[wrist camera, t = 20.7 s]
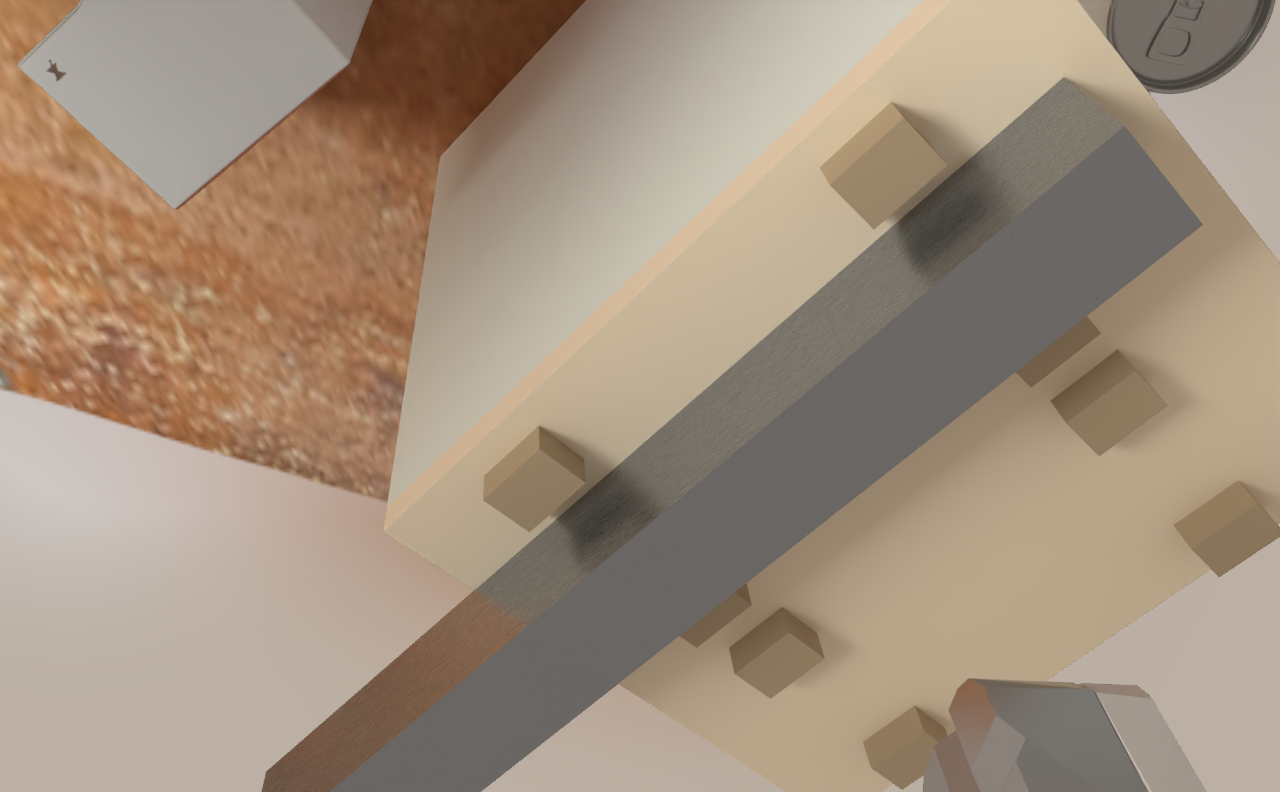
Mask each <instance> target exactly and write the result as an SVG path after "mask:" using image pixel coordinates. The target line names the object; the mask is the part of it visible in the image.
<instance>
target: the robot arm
mask: <svg viewBox="0 0 1280 792" xmlns="http://www.w3.org/2000/svg"><path fill="white" fill-rule="evenodd" d="M949 713H950V715H951V718H952V721H953V724H954V726H955V729H956V731H954V732H953V733H951V734H950V735H949V736H947V737H946V738H944V739H943V740H942V741H940V742H939V743H937V744H936V745H935V746H934V747H933V750H932V752H931V755H930V758H929V761H928V764H927V767H926V769H925V772H924V782H923V783H924V784H923V792H1206V790H1205V788H1204V786H1203V785H1202V783H1201V781H1200V780H1199V778H1198V776H1197V774H1196V773H1195V771H1194V769H1193V768H1192V766H1191V764H1190V763H1189V761H1188V759H1187V758H1186V756H1185V754H1184V752H1183V751H1182V749H1181V747H1180V745H1179V744H1178V742H1177V740H1176V739H1175V737H1174V735H1173V733H1172V732H1171V730H1170V728H1169V727H1168V725H1167V723H1166V722H1165V720H1164V718H1163V716H1162V715H1161V713H1160V712H1159V710H1158V708H1157V706H1156V704H1155V703H1154V701H1153V699H1152V698H1151V697H1150V695H1149V694H1147V693H1146V692H1145V691H1144V690H1142V689H1141V688H1140V687H1138V686H1135V685H1112V684H1090V683H1081V684H1075V683H1063V682H1043V681H1020V680H997V679H975V678H968V679H967V680H966V681H965V682H964V683H963V684H962V685H961V686H960V687H959V688H958V689H957V691H956V693H955V696H954V698H953V700H952V703H951V705H950V707H949Z"/></svg>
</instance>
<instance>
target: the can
mask: <svg viewBox="0 0 1280 792" xmlns="http://www.w3.org/2000/svg"><path fill="white" fill-rule="evenodd" d="M1077 1H1078V2H1079V4H1080V5H1081V6H1082V7H1083V9H1084V10H1085V11H1086V13H1087V14H1088V15H1089V17H1090V18H1091V19H1092V20H1093V22H1094V23H1095V24H1096V26H1097V27H1098V28H1099V29H1100V31H1101V32H1102V33H1103V35H1104V36H1105V37H1106V39H1107V40H1108V41H1109V42H1110V44H1111V45H1112V46H1113V48H1114V49H1115V50H1116V51H1117V53H1118V54H1119V55H1120V57H1121V58H1122V59H1123V61H1124V62H1125V63H1126V64H1127V66H1128V67H1129V68H1130V70H1131V71H1132V72H1133V74H1134V75H1135V76H1136V77H1137V79H1138V80H1139V81H1140V83H1141V84H1142V85H1143V86H1144V88H1145V89H1146V90H1147V91H1151V92H1156V93H1164V94H1174V93H1183V92H1188V91H1192V90H1195V89H1198V88H1201V87H1203V86H1206V85H1208V84H1210V83H1212V82H1214V81H1216V80H1218V79H1219V78H1221V77H1222V76H1224V75H1226V74H1227V73H1228V72H1230V71H1231V70H1232V69H1233V68H1235V67H1236V66H1237V65H1238V64H1239V63H1240V62H1241V61H1242V60H1243V59H1244V58H1245V57H1246V56H1247V55H1248V54H1249V52H1250V51H1251V50H1252V49H1253V48H1254V46H1255V45H1256V43H1257V42H1258V41H1259V39H1260V37H1261V36H1262V34H1263V32H1264V31H1265V28H1266V27H1267V24H1268V22H1269V20H1270V17H1271V14H1272V11H1273V8H1274V4H1275V0H1077Z"/></svg>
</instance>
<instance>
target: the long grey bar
mask: <svg viewBox="0 0 1280 792" xmlns="http://www.w3.org/2000/svg"><path fill="white" fill-rule="evenodd" d="M1202 225H1203V224H1202V223H1201V221H1200V220H1199V219H1198V218H1197V216H1196V215H1195V214H1194V213H1193V211H1192V210H1191V209H1190V208H1189V206H1188V205H1187V204H1186V203H1185V201H1184V200H1183V199H1182V198H1181V196H1180V195H1179V194H1178V192H1177V191H1176V190H1175V189H1174V187H1173V186H1172V185H1171V184H1170V182H1169V181H1168V180H1167V179H1166V177H1165V176H1164V175H1163V174H1162V172H1161V171H1160V170H1159V169H1158V167H1157V166H1156V165H1155V164H1154V162H1153V161H1152V160H1151V159H1150V157H1149V156H1148V155H1147V153H1146V152H1145V151H1144V150H1143V148H1142V147H1141V146H1140V145H1139V143H1138V142H1137V141H1136V140H1135V138H1134V137H1133V136H1132V135H1131V133H1130V132H1129V131H1128V130H1127V128H1126V127H1125V126H1124V125H1123V124H1122V123H1120V122H1119V121H1118V120H1117V119H1115V118H1114V117H1113V116H1112V115H1110V114H1109V113H1108V112H1107V111H1105V110H1104V109H1103V108H1102V107H1100V106H1099V105H1098V104H1097V103H1095V102H1094V101H1093V100H1092V99H1090V98H1089V97H1088V96H1087V95H1085V94H1084V93H1083V92H1082V91H1080V90H1079V89H1078V88H1077V87H1075V86H1074V85H1073V84H1072V83H1070V82H1069V81H1068V80H1067V79H1065V78H1064V77H1063V78H1062V79H1061V80H1060V81H1059V82H1057V83H1056V84H1055V85H1054V86H1053V87H1052V88H1051V89H1049V90H1048V91H1047V92H1046V93H1045V94H1044V95H1043V96H1041V97H1040V98H1039V99H1038V100H1037V101H1036V102H1035V103H1033V104H1032V105H1031V106H1030V107H1029V108H1028V109H1026V110H1025V111H1024V112H1023V113H1022V114H1021V115H1020V116H1018V117H1017V118H1016V119H1015V120H1014V121H1013V122H1012V123H1010V124H1009V125H1008V126H1007V127H1006V128H1005V129H1004V130H1002V131H1001V132H1000V133H999V134H998V135H997V136H995V137H994V138H993V139H992V140H991V141H990V142H989V143H987V144H986V145H985V146H984V147H983V148H982V149H981V150H979V151H978V152H977V153H976V154H975V155H974V156H973V157H971V158H970V159H969V160H968V161H967V162H966V163H964V164H963V165H962V166H961V167H960V168H959V169H958V170H956V171H955V172H954V173H953V174H952V175H951V176H950V177H948V178H947V179H946V180H945V181H944V182H943V183H942V184H940V185H939V186H938V187H937V188H936V189H935V190H933V191H932V192H931V193H930V194H929V195H928V196H927V197H925V198H924V199H923V200H922V201H921V202H920V203H919V204H917V205H916V206H915V207H914V208H913V209H912V210H911V211H909V212H908V213H907V214H906V215H905V216H904V217H902V218H901V219H900V220H899V221H898V222H897V223H896V224H894V225H893V226H892V227H891V228H890V229H889V230H888V231H886V232H885V233H884V234H883V235H882V236H881V237H880V238H878V239H877V240H876V241H875V242H874V243H873V244H872V245H870V246H869V247H868V248H867V249H866V250H865V251H863V252H862V253H861V254H860V255H859V256H858V257H857V258H855V259H854V260H853V261H852V262H851V263H850V264H849V265H847V266H846V267H845V268H844V269H843V270H842V271H841V272H839V273H838V274H837V275H836V276H835V277H834V278H832V279H831V280H830V281H829V282H828V283H827V284H826V285H824V286H823V287H822V288H821V289H820V290H819V291H818V292H816V293H815V294H814V295H813V296H812V297H811V298H810V299H808V300H807V301H806V302H805V303H804V304H803V305H801V306H800V307H799V308H798V309H797V310H796V311H795V312H793V313H792V314H791V315H790V316H789V317H788V318H787V319H785V320H784V321H783V322H782V323H781V324H780V325H779V326H777V327H776V328H775V329H774V330H773V331H772V332H770V333H769V334H768V335H767V336H766V337H765V338H764V339H762V340H761V341H760V342H759V343H758V344H757V345H756V346H754V347H753V348H752V349H751V350H750V351H749V352H748V353H746V354H745V355H744V356H743V357H742V358H741V359H739V360H738V361H737V362H736V363H735V364H734V365H733V366H731V367H730V368H729V369H728V370H727V371H726V372H725V373H723V374H722V375H721V376H720V377H719V378H718V379H717V380H715V381H714V382H713V383H712V384H711V385H710V386H708V387H707V388H706V389H705V390H704V391H703V392H702V393H700V394H699V395H698V396H697V397H696V398H695V399H694V400H692V401H691V402H690V403H689V404H688V405H687V406H686V407H684V408H683V409H682V410H681V411H680V412H679V413H677V414H676V415H675V416H674V417H673V418H672V419H671V420H669V421H668V422H667V423H666V424H665V425H664V426H663V427H661V428H660V429H659V430H658V431H657V432H656V433H655V434H653V435H652V436H651V437H650V438H649V439H648V440H646V441H645V442H644V443H643V444H642V445H641V446H640V447H638V448H637V449H636V450H635V451H634V452H633V453H632V454H630V455H629V456H628V457H627V458H626V459H625V460H624V461H622V462H621V463H620V464H619V465H618V466H617V467H615V468H614V469H613V470H612V471H611V472H610V473H609V474H607V475H606V476H605V477H604V478H603V479H602V480H601V481H599V482H598V483H597V484H596V485H595V486H594V487H593V488H591V489H590V490H589V491H588V492H587V493H586V494H584V495H583V496H582V497H581V498H580V499H579V500H578V501H576V502H575V503H574V504H573V505H572V506H571V507H570V508H568V509H567V510H566V511H565V512H564V513H563V514H562V515H560V516H559V517H558V518H557V519H556V520H555V521H553V522H552V523H551V524H550V525H549V526H548V527H547V528H545V529H544V530H543V531H542V532H541V533H540V534H539V535H537V536H536V537H535V538H534V539H533V540H532V541H531V542H529V543H528V544H527V545H526V546H525V547H524V548H522V549H521V550H520V551H519V552H518V553H517V554H516V555H514V556H513V557H512V558H511V559H510V560H509V561H508V562H506V563H505V564H504V565H503V566H502V567H501V568H500V569H498V570H497V571H496V572H495V573H494V574H493V575H491V576H490V577H489V578H488V579H487V580H486V581H485V582H483V583H482V584H481V585H480V586H479V587H478V588H477V589H475V590H474V591H473V592H472V593H471V594H470V595H469V596H467V597H466V598H465V599H464V600H463V601H462V602H460V603H459V604H458V605H457V606H456V607H455V608H454V609H452V610H451V611H450V612H449V613H448V614H447V615H446V616H444V618H442V619H441V620H440V621H439V622H438V623H436V624H435V625H434V626H433V627H432V628H431V629H430V630H428V631H427V632H426V633H425V634H424V635H423V636H421V637H420V638H419V639H418V640H417V641H416V642H415V643H413V644H412V645H411V646H410V647H409V648H408V649H407V650H405V651H404V652H403V653H402V654H401V655H400V656H399V657H397V658H396V659H395V660H394V661H393V662H392V663H390V664H389V665H388V666H387V667H386V668H385V669H384V670H382V671H381V672H380V673H379V674H378V675H377V676H376V677H374V678H373V679H372V680H371V681H370V682H369V683H368V684H366V685H365V686H364V687H363V688H362V689H361V690H359V691H358V692H357V693H356V694H355V695H354V696H353V697H351V698H350V699H349V700H348V701H347V702H346V703H345V704H344V705H342V706H341V707H340V708H339V709H338V710H337V711H335V712H334V713H333V714H332V715H331V716H330V717H328V718H327V719H326V720H325V721H324V722H323V723H322V724H320V725H319V726H318V727H317V728H316V729H315V730H314V731H312V732H311V733H310V734H309V735H308V736H307V737H306V738H304V739H303V740H302V741H301V742H300V743H299V744H297V745H296V746H295V747H294V748H293V749H292V750H291V751H290V752H288V753H287V754H286V755H285V756H284V757H283V758H282V759H280V760H279V761H278V762H277V763H276V764H275V765H273V766H272V767H271V768H270V769H269V770H268V771H266V775H265V779H264V784H263V788H262V792H481V791H482V790H483V789H485V788H486V787H487V786H489V785H490V784H491V783H492V782H493V781H495V780H496V779H497V778H499V777H500V776H501V775H503V774H504V773H505V772H506V771H508V770H509V769H510V768H512V767H513V766H514V765H515V764H516V763H518V762H519V761H520V760H522V759H523V758H524V757H525V756H527V755H528V754H529V753H531V752H532V751H533V750H534V749H536V748H537V747H538V746H540V745H541V744H542V743H543V742H544V741H546V740H547V739H548V738H550V737H551V736H552V735H554V733H556V732H557V731H559V730H560V729H561V728H563V727H564V726H565V725H566V724H568V723H569V722H570V721H571V720H573V719H574V718H575V717H577V716H578V715H579V714H580V713H582V712H583V711H584V710H585V709H587V708H588V707H589V706H590V705H592V704H593V703H594V702H596V701H597V700H598V699H599V698H601V697H602V696H603V695H604V694H606V693H607V692H608V691H610V690H611V689H612V688H613V687H615V686H616V685H617V684H619V683H620V682H621V681H622V680H624V679H625V678H626V677H627V676H629V675H630V674H631V673H633V672H634V671H635V670H636V669H638V668H639V667H640V666H642V665H643V664H644V663H645V662H647V661H648V660H649V659H650V658H652V657H653V656H654V655H656V654H657V653H658V652H659V651H661V650H662V649H663V648H664V647H666V646H667V645H668V644H670V643H671V642H672V641H673V640H675V639H676V638H677V637H678V636H680V635H681V634H682V633H684V632H685V631H686V630H687V629H689V628H690V627H691V626H692V625H694V624H695V623H696V622H698V621H699V620H700V619H701V618H703V617H704V616H705V615H706V614H708V613H709V612H710V611H712V610H713V609H714V608H715V607H717V606H718V605H719V604H721V603H722V602H723V601H724V600H726V599H727V598H728V597H729V596H731V595H732V594H733V593H735V592H736V591H737V590H738V589H740V588H741V587H742V586H743V585H745V584H746V583H747V582H749V581H750V580H751V579H752V578H754V577H755V576H756V575H757V574H759V573H760V572H761V571H763V570H764V569H765V568H766V567H768V566H769V565H770V564H771V563H773V562H774V561H775V560H777V559H778V558H779V557H780V556H782V555H783V554H784V553H786V552H787V551H788V550H789V549H791V548H792V547H793V546H794V545H796V544H797V543H798V542H800V541H801V540H802V539H803V538H805V537H806V536H807V535H808V534H810V533H811V532H812V531H814V530H815V529H816V528H817V527H819V526H820V525H821V524H822V523H824V522H825V521H826V520H828V519H829V518H830V517H831V516H833V515H834V514H835V513H836V512H838V511H839V510H840V509H842V508H843V507H844V506H845V505H847V504H848V503H849V502H850V501H852V500H853V499H854V498H856V497H857V496H858V495H859V494H861V493H862V492H863V491H865V490H866V489H867V488H868V487H870V486H871V485H872V484H873V483H875V482H876V481H877V480H879V479H880V478H881V477H882V476H884V475H885V474H886V473H887V472H889V471H890V470H891V469H893V468H894V467H895V466H896V465H898V464H899V463H900V462H901V461H903V460H904V459H905V458H907V457H908V456H909V455H910V454H912V453H913V452H914V451H915V450H917V449H918V448H919V447H921V446H922V445H923V444H924V443H926V442H927V441H928V440H929V439H931V438H932V437H933V436H935V435H936V434H937V433H938V432H940V431H941V430H942V429H944V428H945V427H946V426H947V425H949V424H950V423H951V422H952V421H954V420H955V419H956V418H958V417H959V416H960V415H961V414H963V413H964V412H965V411H966V410H968V409H969V408H970V407H972V406H973V405H974V404H975V403H977V402H978V401H979V400H980V399H982V398H983V397H984V396H986V395H987V394H988V393H989V392H991V391H992V390H993V389H994V388H996V387H997V386H998V385H1000V384H1001V383H1002V382H1003V381H1005V380H1006V379H1007V378H1009V377H1010V376H1011V375H1012V374H1014V373H1015V372H1016V371H1017V370H1019V369H1020V368H1021V367H1023V366H1024V365H1025V364H1026V363H1028V362H1029V361H1030V360H1031V359H1033V358H1034V357H1035V356H1037V355H1038V354H1039V353H1040V352H1042V351H1043V350H1044V349H1045V348H1047V347H1048V346H1049V345H1051V344H1052V343H1053V342H1054V341H1056V340H1057V339H1058V338H1059V337H1061V336H1062V335H1063V334H1065V333H1066V332H1067V331H1068V330H1070V329H1071V328H1072V327H1073V326H1075V325H1076V324H1077V323H1079V322H1080V321H1081V320H1082V319H1084V318H1085V317H1086V316H1088V315H1089V314H1090V313H1091V312H1093V311H1094V310H1095V309H1096V308H1098V307H1099V306H1100V305H1102V304H1103V303H1104V302H1105V301H1107V300H1108V299H1109V298H1110V297H1112V296H1113V295H1114V294H1116V293H1117V292H1118V291H1119V290H1121V289H1122V288H1123V287H1124V286H1126V285H1127V284H1128V283H1130V282H1131V281H1132V280H1133V279H1135V278H1136V277H1137V276H1138V275H1140V274H1141V273H1142V272H1144V271H1145V270H1146V269H1147V268H1149V267H1150V266H1151V265H1152V264H1154V263H1155V262H1156V261H1158V260H1159V259H1160V258H1161V257H1163V256H1164V255H1165V254H1167V253H1168V252H1169V251H1170V250H1172V249H1173V248H1174V247H1175V246H1177V245H1178V244H1179V243H1181V242H1182V241H1183V240H1184V239H1186V238H1187V237H1188V236H1189V235H1191V234H1192V233H1193V232H1195V231H1196V230H1197V229H1198V228H1200V227H1201V226H1202Z"/></svg>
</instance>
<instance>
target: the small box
mask: <svg viewBox="0 0 1280 792" xmlns="http://www.w3.org/2000/svg"><path fill="white" fill-rule="evenodd" d="M372 1H373V0H81V1H80V2H79V4H78V5H77V6H76V7H75V8H74V9H73V10H72V11H71V12H70V13H69V14H68V15H67V16H66V17H65V18H64V19H63V20H62V21H61V22H60V23H59V24H58V25H57V26H56V27H55V28H54V29H53V30H52V31H51V32H49V33H48V34H47V35H46V36H45V37H44V38H43V39H42V40H41V41H40V42H39V43H38V44H37V45H36V46H35V47H34V48H33V49H32V50H31V51H30V52H29V53H28V54H27V55H26V56H25V57H24V58H23V59H22V60H21V61H20V62H19V63H18V68H19V69H20V70H22V71H23V72H24V73H25V74H26V75H28V76H29V77H30V78H31V79H32V80H33V81H34V82H36V83H37V84H38V85H39V86H40V87H41V88H42V89H43V90H45V91H46V92H47V93H48V94H49V95H50V96H51V97H52V98H53V99H54V100H55V101H56V102H57V103H59V104H60V105H61V106H62V107H63V108H64V109H65V110H66V111H67V112H68V113H69V114H70V115H72V116H73V117H74V118H75V119H76V120H77V121H78V122H79V123H80V124H81V125H82V126H84V127H85V128H86V129H87V130H88V131H89V132H90V133H91V134H92V135H93V136H94V137H95V138H97V139H98V140H99V141H100V142H101V143H102V144H103V145H104V146H105V147H106V148H108V149H109V150H110V151H111V152H112V153H113V154H114V155H115V156H116V157H117V158H119V159H120V160H121V161H122V162H123V163H124V164H125V165H126V166H127V167H129V168H130V169H131V170H132V171H133V172H134V173H135V174H136V175H137V176H138V177H139V178H140V179H142V180H143V181H144V182H145V183H146V184H147V185H148V186H149V187H150V188H151V189H153V190H154V191H155V192H156V193H157V194H158V195H159V196H161V197H162V198H163V199H164V200H165V201H166V202H167V203H168V204H169V205H170V206H171V207H172V208H173V209H179V208H180V207H182V206H183V205H184V204H185V203H187V202H188V201H189V200H190V199H191V198H193V197H194V196H195V195H196V194H197V193H199V192H200V191H201V190H202V189H203V188H205V187H206V186H207V185H208V184H209V183H211V182H212V181H213V180H214V179H215V178H217V177H218V176H219V175H220V174H221V173H223V172H224V171H225V170H226V169H227V168H229V167H230V166H231V165H232V164H233V163H234V162H236V161H237V160H238V159H239V158H240V157H242V156H243V155H244V154H245V153H246V152H247V151H249V150H250V149H251V148H252V147H253V146H255V145H256V144H257V143H258V142H259V141H260V140H262V139H263V138H264V137H265V136H266V135H267V134H269V133H270V132H271V131H272V130H274V129H275V128H276V127H277V126H278V125H279V124H281V123H282V122H283V121H284V120H285V119H286V118H288V117H289V116H290V115H291V114H292V113H293V112H295V111H296V110H297V109H298V108H299V107H300V106H302V105H303V104H304V103H305V102H306V101H307V100H309V99H310V98H311V97H312V96H313V95H315V94H316V93H317V92H318V91H320V90H321V89H322V88H323V87H324V86H326V85H327V84H328V83H329V82H330V81H331V80H332V79H334V78H335V77H336V76H337V75H338V74H339V73H341V72H342V71H343V70H344V69H345V68H346V67H348V66H349V65H350V61H351V58H352V56H353V53H354V50H355V47H356V45H357V42H358V39H359V37H360V34H361V31H362V28H363V25H364V23H365V20H366V17H367V15H368V12H369V10H370V7H371V4H372Z"/></svg>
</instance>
